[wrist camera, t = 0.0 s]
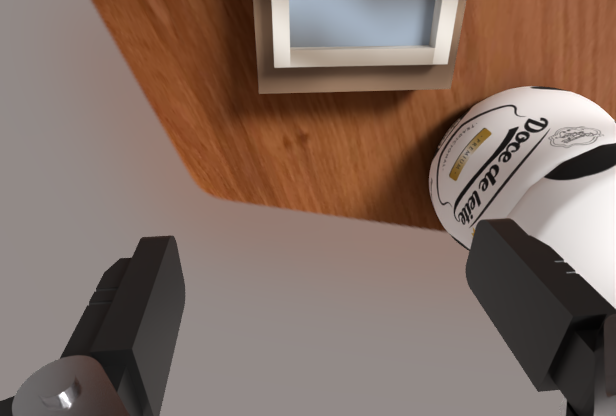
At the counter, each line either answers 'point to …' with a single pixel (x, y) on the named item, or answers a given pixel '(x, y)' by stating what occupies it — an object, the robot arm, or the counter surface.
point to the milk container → (534, 176)
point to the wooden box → (356, 44)
